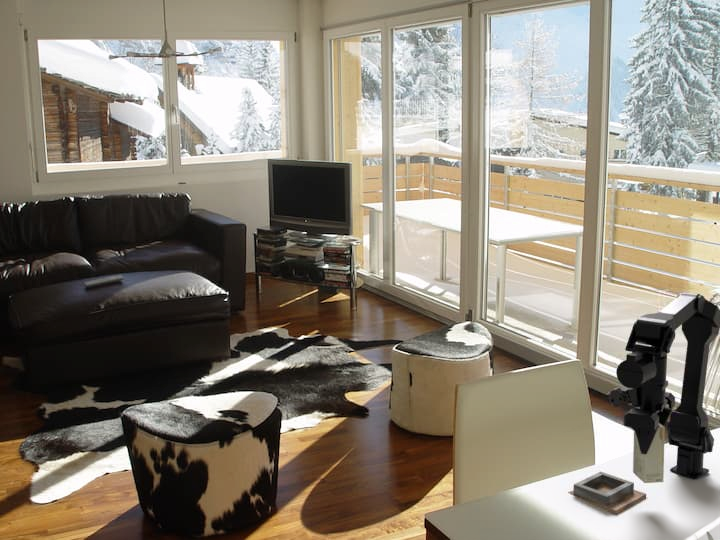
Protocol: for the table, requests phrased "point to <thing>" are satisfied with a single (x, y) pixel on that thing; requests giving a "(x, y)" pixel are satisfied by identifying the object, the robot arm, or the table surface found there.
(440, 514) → the table surface
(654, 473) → the skincare box
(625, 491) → the holder
